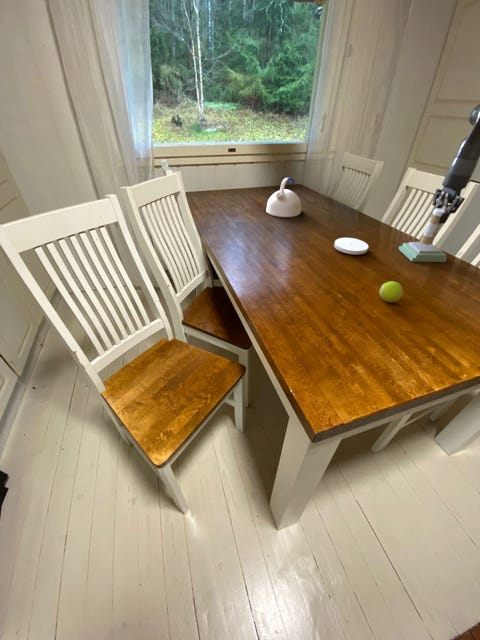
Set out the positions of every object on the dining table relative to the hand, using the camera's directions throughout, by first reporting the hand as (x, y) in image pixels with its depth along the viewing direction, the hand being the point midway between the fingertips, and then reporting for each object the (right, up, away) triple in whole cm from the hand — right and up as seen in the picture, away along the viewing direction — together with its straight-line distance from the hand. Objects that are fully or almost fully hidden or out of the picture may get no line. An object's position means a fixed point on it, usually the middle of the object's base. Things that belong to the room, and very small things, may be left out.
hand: (437, 220), depth 107 cm
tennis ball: (-29, -33, -17) cm, 47 cm away
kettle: (-52, +24, +52) cm, 78 cm away
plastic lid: (-29, -8, +13) cm, 33 cm away
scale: (0, -11, +9) cm, 15 cm away
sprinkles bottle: (0, -7, +6) cm, 10 cm away
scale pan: (0, -9, +8) cm, 12 cm away
